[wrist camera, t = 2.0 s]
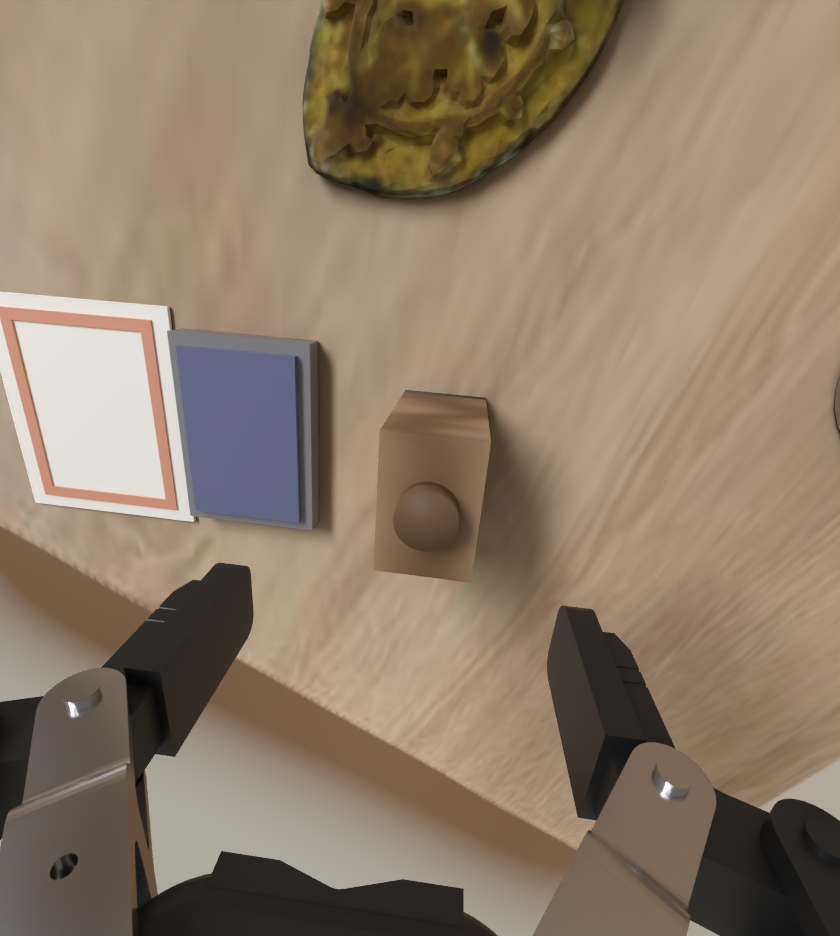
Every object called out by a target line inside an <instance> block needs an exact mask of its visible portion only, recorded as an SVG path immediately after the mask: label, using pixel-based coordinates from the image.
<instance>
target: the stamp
mask: <svg viewBox="0 0 840 936" xmlns="http://www.w3.org/2000/svg"><path fill="white" fill-rule="evenodd" d="M490 446H491V437H490V429H489V421H488V413H487V405H486V398H482V397H472V396H462V395H452V394H442V393H431V392H421V391H411V390H406V391H405V392H404V394H403V395H402V397H401V398H400V400H399V401H398V403H397V405H396V406H395V408H394V409H393V411H392V412H391V414H390V416H389V417H388V419H387V420H386V422H385V423H384V425H383V427H382V428H381V430H380V441H379V464H378V486H377V509H376V531H375V554H374V570H377V571H385V572H393V573H401V574H409V575H417V576H424V577H432V578H440V579H448V580H456V581H464V582H471V580H472V573H473V566H474V559H475V552H476V545H477V538H478V531H479V524H480V517H481V510H482V503H483V496H484V489H485V482H486V475H487V468H488V460H489V453H490Z"/></svg>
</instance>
